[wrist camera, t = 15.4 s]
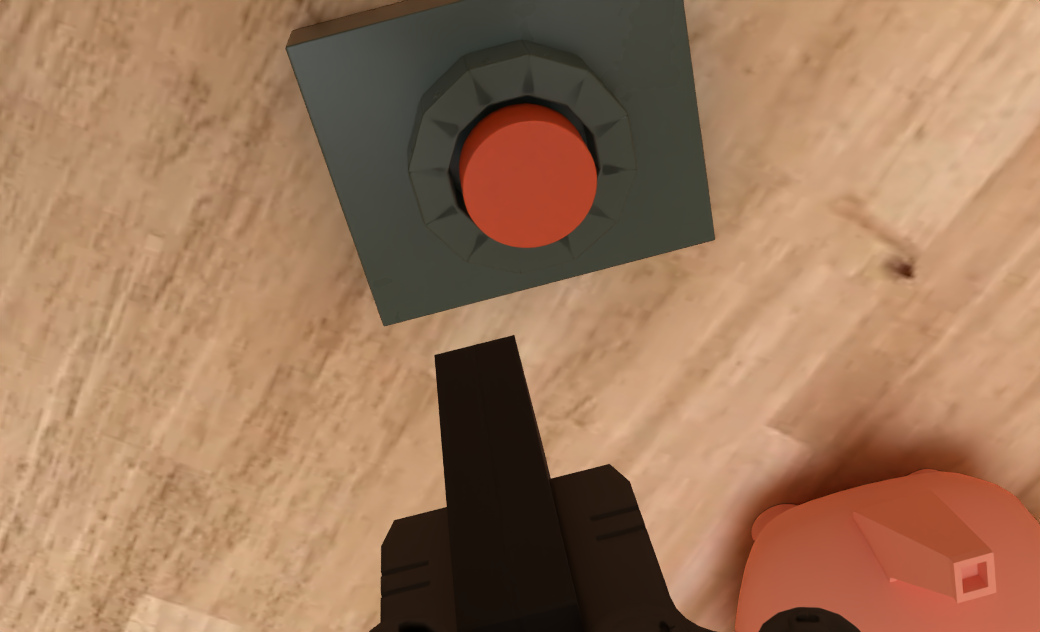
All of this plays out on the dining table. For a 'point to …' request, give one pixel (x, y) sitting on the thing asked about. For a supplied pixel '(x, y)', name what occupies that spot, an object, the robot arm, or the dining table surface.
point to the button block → (475, 94)
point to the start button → (526, 176)
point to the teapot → (900, 558)
